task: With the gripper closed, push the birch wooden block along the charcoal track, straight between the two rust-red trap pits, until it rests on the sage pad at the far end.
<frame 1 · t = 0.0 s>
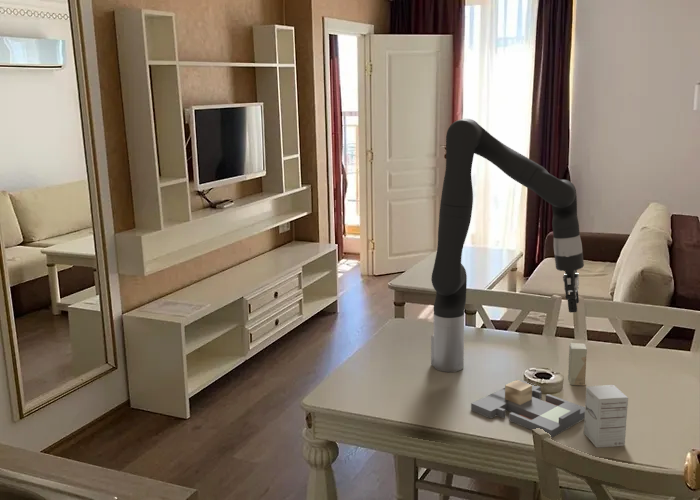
hand: (574, 307, 196), 22 cm above the table, tool pointing down, fingers open, 8 cm apart
supplement box: (603, 440, 167), on the table
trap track: (532, 411, 182), on the table
box: (576, 382, 200), on the table
block: (518, 399, 185), point 2 cm above the table, touching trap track
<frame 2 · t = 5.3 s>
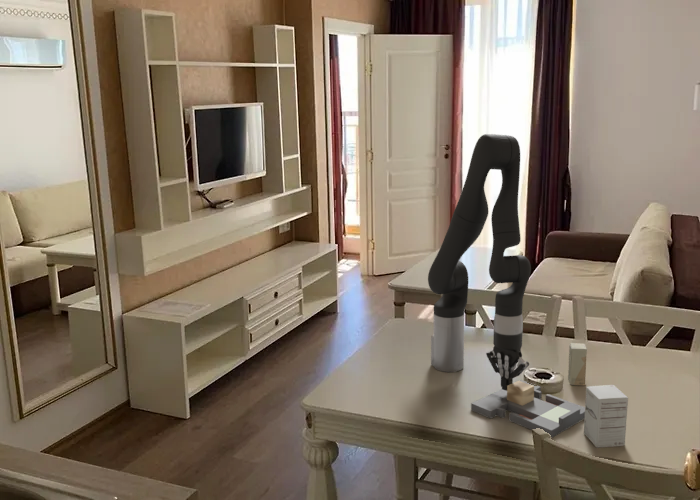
hand: (506, 389, 188), 4 cm above the table, tool pointing down, fingers closed
block: (520, 399, 185), point 2 cm above the table, touching gripper
everything else where it was.
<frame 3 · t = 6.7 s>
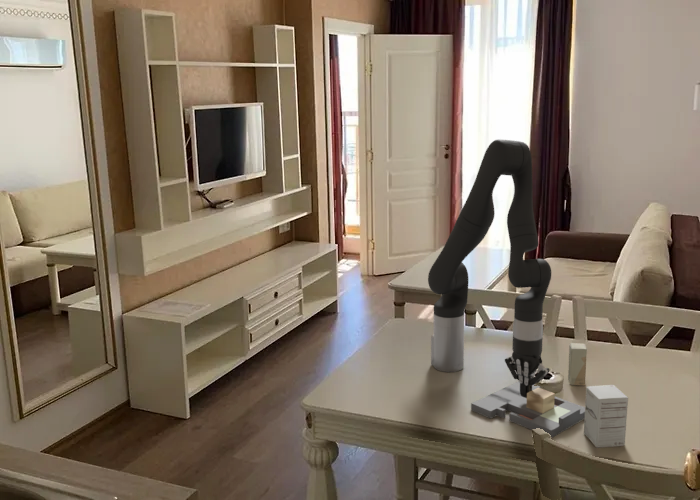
hand: (525, 396, 183), 4 cm above the table, tool pointing down, fingers closed
block: (540, 407, 180), point 2 cm above the table, touching gripper, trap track
everything else where it was.
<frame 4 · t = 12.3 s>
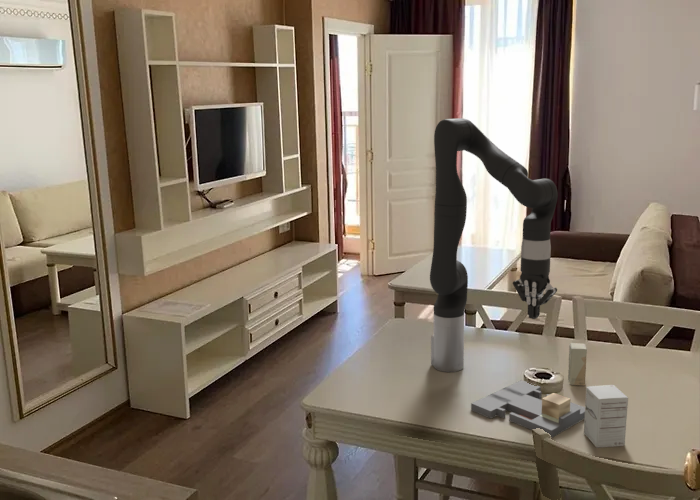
hand: (533, 317, 186), 23 cm above the table, tool pointing down, fingers closed
block: (555, 413, 177), point 2 cm above the table, touching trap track
everything else where it was.
at the end: block 1.1 cm from the target spot on the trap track, point 2.0 cm above the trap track's base; block tilted 0° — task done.
